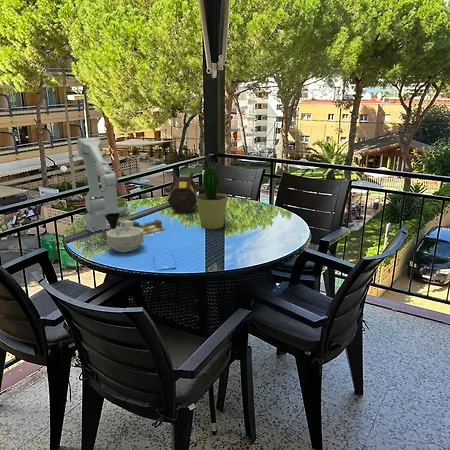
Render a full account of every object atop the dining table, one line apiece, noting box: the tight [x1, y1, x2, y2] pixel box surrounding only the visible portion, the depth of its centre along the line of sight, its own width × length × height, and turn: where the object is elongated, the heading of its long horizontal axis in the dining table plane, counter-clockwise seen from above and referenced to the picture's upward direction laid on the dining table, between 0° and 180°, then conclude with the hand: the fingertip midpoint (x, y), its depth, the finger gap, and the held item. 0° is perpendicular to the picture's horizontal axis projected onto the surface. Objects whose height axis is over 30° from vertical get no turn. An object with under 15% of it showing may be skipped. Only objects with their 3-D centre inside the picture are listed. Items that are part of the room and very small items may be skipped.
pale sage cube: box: [119, 219, 134, 228], centre depth 193 cm, size 4×5×6 cm
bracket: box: [132, 220, 140, 228], centre depth 196 cm, size 2×4×4 cm, turn 41°
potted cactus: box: [196, 166, 228, 230], centre depth 204 cm, size 15×15×30 cm
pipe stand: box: [101, 219, 166, 241], centre depth 196 cm, size 30×8×4 cm, turn 131°
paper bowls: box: [106, 226, 145, 252], centre depth 177 cm, size 15×15×8 cm
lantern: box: [163, 171, 204, 214], centre depth 239 cm, size 21×23×30 cm
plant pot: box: [117, 197, 127, 217], centre depth 226 cm, size 9×9×9 cm
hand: (113, 229), depth 189 cm, fingers closed
